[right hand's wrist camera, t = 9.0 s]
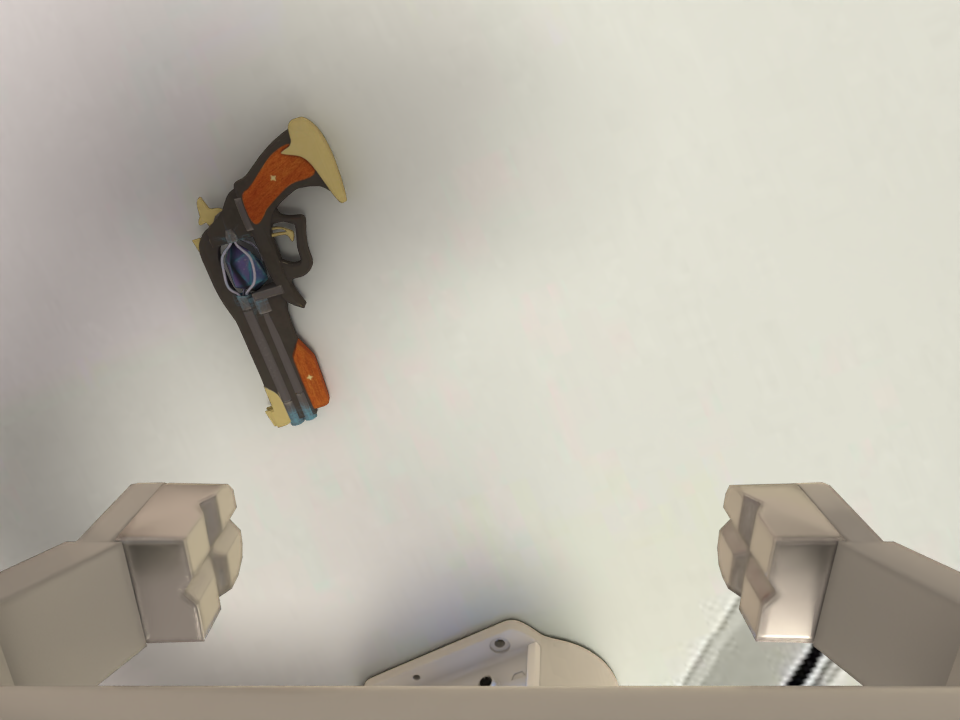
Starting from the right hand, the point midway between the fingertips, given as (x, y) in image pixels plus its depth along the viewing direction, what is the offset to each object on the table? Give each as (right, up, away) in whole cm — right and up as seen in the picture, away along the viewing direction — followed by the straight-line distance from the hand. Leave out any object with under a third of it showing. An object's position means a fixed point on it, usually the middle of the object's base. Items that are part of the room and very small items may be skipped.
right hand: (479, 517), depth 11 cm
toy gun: (-12, +8, +32) cm, 35 cm away
